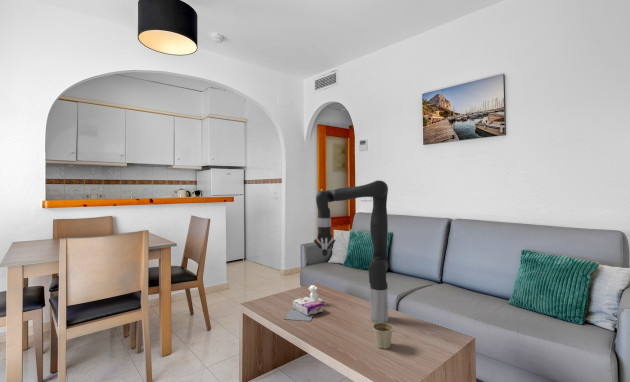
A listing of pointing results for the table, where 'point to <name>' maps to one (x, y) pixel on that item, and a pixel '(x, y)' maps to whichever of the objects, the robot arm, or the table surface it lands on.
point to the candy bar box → (307, 306)
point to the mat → (298, 316)
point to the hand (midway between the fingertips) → (325, 255)
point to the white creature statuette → (314, 293)
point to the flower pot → (383, 334)
